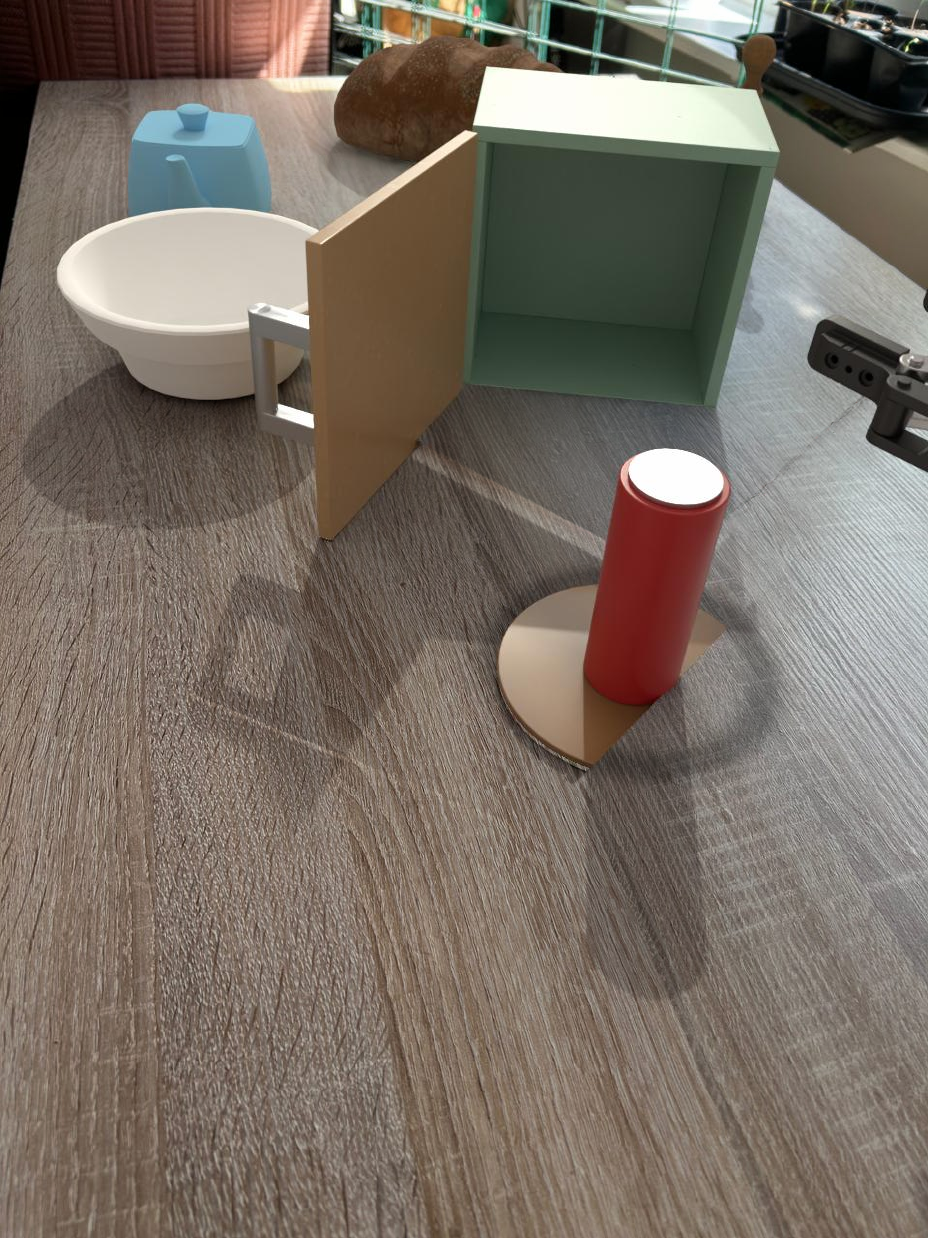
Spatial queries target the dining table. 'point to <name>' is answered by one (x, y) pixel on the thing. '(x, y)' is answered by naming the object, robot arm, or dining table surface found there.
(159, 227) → the bowl
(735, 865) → the dining table surface
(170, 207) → the teapot
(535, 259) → the green cabinet
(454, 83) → the bread
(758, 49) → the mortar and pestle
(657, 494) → the can
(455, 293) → the wooden cabinet door
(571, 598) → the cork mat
